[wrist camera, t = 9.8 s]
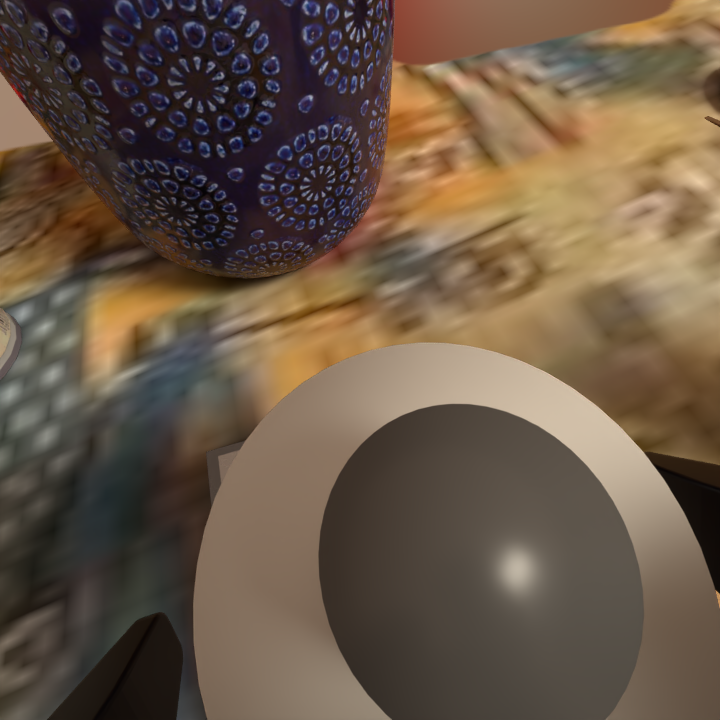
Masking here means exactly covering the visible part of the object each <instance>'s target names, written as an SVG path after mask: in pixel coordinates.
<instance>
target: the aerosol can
mask: <svg viewBox="0 0 720 720" xmlns="http://www.w3.org/2000/svg"><path fill="white" fill-rule="evenodd" d="M21 343H22V336H21V327H20V326H19V324H18V323H17V321H16V320H15V319H14V317H12V316H11V315H9V314H8V313H6V312H4V311H3V310H2V309H1V308H0V380H1V379H2V378H3V377H4V376H5V375H6V373H7V372H8V370H9V369H10V367H11V366H12V364H13V363H14V361H15V360H16V358H17V356H18V353H19V350H20V346H21Z"/></svg>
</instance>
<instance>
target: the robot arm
mask: <svg viewBox="0 0 720 720" xmlns="http://www.w3.org/2000/svg"><path fill="white" fill-rule="evenodd" d="M644 454H645V455H646V456H647V458H648V459H649V460H650V462H651V463H652V464H653V466H654V467H655V468H656V470H657V471H658V472H659V474H660V475H661V476H662V478H663V479H664V480H665V482H666V484H667V485H668V487H669V489H670V490H671V492H672V493H673V495H674V497H675V498H676V500H677V502H678V503H679V505H680V507H681V508H682V510H683V512H684V514H685V516H686V518H687V520H688V522H689V524H690V526H691V528H692V530H693V533H694V535H695V537H696V539H697V541H698V543H699V545H700V547H701V550H702V553H703V556H704V558H705V561H706V564H707V567H708V570H709V573H710V575H711V578H712V581H713V584H714V587H715V590H716V591H717V592H718V593H720V465H716V464H710V463H705V462H700V461H695V460H689V459H684V458H679V457H674V456H668V455H663V454H658V453H653V452H644ZM182 664H183V651H182V647H181V644H180V642H179V640H178V637H177V635H176V633H175V631H174V629H173V627H172V625H171V623H170V621H169V619H168V617H167V616H166V615H165V614H164V613H162V612H159V613H155V614H152V615H149V616H146V617H143V618H141V619H139V620H137V621H136V622H135V623H134V624H133V625H132V626H131V627H130V628H129V629H128V630H127V631H126V633H125V634H124V635H123V636H122V637H121V638H120V639H119V640H118V641H117V643H116V644H115V645H114V646H113V647H112V648H111V649H110V650H109V651H108V653H107V654H106V655H105V656H104V657H103V658H102V659H101V660H100V661H99V663H98V664H97V665H96V666H95V667H94V668H93V669H92V670H91V671H90V673H89V674H88V675H87V676H86V677H85V678H84V679H83V680H82V681H81V683H80V684H79V685H78V686H77V687H76V688H75V689H74V690H73V691H72V693H71V694H70V695H69V696H68V697H67V698H66V699H65V700H64V701H63V703H62V704H61V705H60V706H59V707H58V708H57V709H56V710H55V711H54V713H53V714H52V715H51V716H50V717H49V718H48V719H47V720H176V717H177V708H178V699H179V691H180V682H181V673H182Z"/></svg>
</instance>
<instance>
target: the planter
mask: <svg viewBox="0 0 720 720" xmlns="http://www.w3.org/2000/svg"><path fill="white" fill-rule="evenodd" d="M394 8H395V0H0V72H1V74H2V75H3V76H4V77H5V79H6V81H7V82H8V83H9V85H10V86H11V87H12V89H13V90H14V91H15V93H16V94H17V95H18V97H19V98H20V99H21V101H22V102H23V103H24V104H25V106H26V107H27V108H28V110H29V111H30V112H31V113H32V115H33V116H34V117H35V119H36V120H37V121H38V122H39V124H40V125H41V126H42V128H43V129H44V130H45V131H46V132H47V134H48V135H49V136H50V138H51V139H52V140H53V142H54V143H55V144H56V145H57V147H58V148H59V149H60V151H61V152H62V153H63V154H64V156H65V157H66V158H67V160H68V161H69V162H70V163H71V165H72V166H73V167H74V168H75V170H76V171H77V172H78V174H79V175H80V176H81V177H82V178H83V180H84V181H85V182H86V183H87V184H88V185H89V187H90V188H91V189H92V190H93V191H94V193H95V194H96V195H97V196H98V197H99V198H100V200H101V201H102V202H103V203H104V204H105V205H106V206H107V207H108V209H109V210H110V211H111V212H112V213H113V214H114V215H115V216H116V217H117V218H118V219H119V221H120V222H121V223H122V224H123V225H124V226H125V227H126V228H127V229H128V230H129V231H130V232H131V233H132V234H133V235H134V236H135V237H137V238H138V239H139V240H140V241H141V242H143V243H144V244H145V245H146V246H147V247H149V248H150V249H151V250H153V251H154V252H155V253H157V254H159V255H160V256H162V257H164V258H166V259H168V260H170V261H172V262H175V263H177V264H179V265H181V266H183V267H186V268H188V269H191V270H194V271H198V272H202V273H206V274H209V275H214V276H219V277H226V278H260V277H268V276H274V275H279V274H283V273H286V272H290V271H293V270H296V269H298V268H301V267H303V266H305V265H307V264H310V263H312V262H313V261H315V260H317V259H319V258H320V257H322V256H324V255H325V254H327V253H328V252H330V251H331V250H333V249H334V248H335V247H337V246H338V245H339V244H340V243H341V242H342V241H343V240H344V239H345V238H346V237H347V236H348V235H349V234H350V233H351V232H352V231H353V230H354V229H355V227H356V226H357V225H358V224H359V222H360V221H361V220H362V218H363V216H364V215H365V213H366V212H367V210H368V208H369V207H370V205H371V203H372V201H373V199H374V197H375V195H376V192H377V189H378V185H379V182H380V178H381V175H382V171H383V165H384V158H385V150H386V143H387V134H388V123H389V113H390V101H391V80H392V59H393V38H394V11H395V9H394Z"/></svg>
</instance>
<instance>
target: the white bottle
mask: <svg viewBox="0 0 720 720" xmlns="http://www.w3.org/2000/svg"><path fill="white" fill-rule="evenodd" d="M193 633H194V650H195V658H196V666H197V674H198V682H199V688H200V692H201V696H202V700H203V704H204V708H205V712H206V716H207V720H720V608H719V604H718V600H717V595H716V591H715V587H714V584H713V581H712V578H711V575H710V573H709V570H708V567H707V564H706V561H705V558H704V556H703V553H702V550H701V547H700V545H699V543H698V541H697V539H696V537H695V535H694V533H693V530H692V528H691V526H690V524H689V522H688V520H687V518H686V516H685V514H684V512H683V510H682V508H681V507H680V505H679V503H678V502H677V500H676V498H675V497H674V495H673V493H672V492H671V490H670V489H669V487H668V485H667V484H666V482H665V480H664V479H663V478H662V476H661V475H660V474H659V472H658V471H657V470H656V468H655V467H654V466H653V464H652V463H651V462H650V460H649V459H648V458H647V456H646V455H645V454H644V452H643V451H642V450H641V449H640V448H639V447H638V446H637V445H636V443H635V442H634V441H633V440H632V439H631V438H630V437H629V436H628V435H627V434H626V433H625V431H624V430H623V429H622V428H621V427H620V426H619V425H618V424H616V423H615V422H614V421H613V420H612V419H611V418H610V417H609V416H608V415H606V414H605V413H604V412H603V411H602V410H601V409H600V408H599V407H598V406H596V405H595V404H594V403H592V402H591V401H590V400H588V399H587V398H586V397H584V396H583V395H581V394H580V393H579V392H577V391H576V390H575V389H573V388H572V387H570V386H569V385H567V384H565V383H564V382H562V381H560V380H558V379H557V378H555V377H553V376H552V375H550V374H548V373H547V372H544V371H542V370H540V369H538V368H536V367H534V366H532V365H529V364H527V363H525V362H523V361H521V360H518V359H515V358H512V357H509V356H506V355H503V354H500V353H497V352H494V351H490V350H485V349H481V348H477V347H472V346H466V345H458V344H449V343H411V344H401V345H393V346H388V347H384V348H379V349H375V350H370V351H367V352H364V353H361V354H359V355H356V356H353V357H350V358H347V359H345V360H343V361H341V362H338V363H336V364H334V365H332V366H330V367H328V368H326V369H324V370H322V371H321V372H319V373H318V374H316V375H314V376H313V377H311V378H310V379H308V380H306V381H305V382H303V383H302V384H301V385H299V386H298V387H297V388H296V389H294V390H293V391H292V392H291V393H289V394H288V395H287V396H286V397H284V398H283V399H282V400H281V401H280V402H279V403H278V404H277V405H276V406H275V407H274V408H273V409H272V410H271V411H270V412H269V413H268V414H267V415H266V416H265V417H264V418H263V419H262V420H261V422H260V423H259V424H258V426H257V427H256V428H255V429H254V431H253V432H252V433H251V435H250V436H249V437H248V438H247V440H246V441H245V442H244V444H243V446H242V447H241V449H240V450H239V452H238V454H237V455H236V457H235V459H234V460H233V462H232V464H231V465H230V467H229V469H228V471H227V473H226V475H225V477H224V479H223V482H222V484H221V486H220V488H219V490H218V492H217V494H216V497H215V499H214V502H213V505H212V508H211V511H210V514H209V517H208V520H207V523H206V526H205V529H204V534H203V539H202V543H201V548H200V553H199V557H198V562H197V569H196V579H195V589H194V599H193Z"/></svg>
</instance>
